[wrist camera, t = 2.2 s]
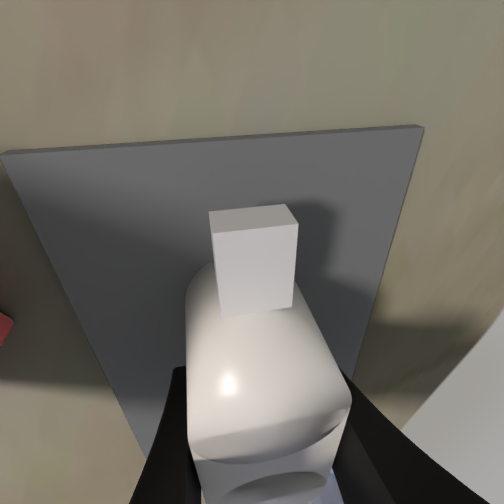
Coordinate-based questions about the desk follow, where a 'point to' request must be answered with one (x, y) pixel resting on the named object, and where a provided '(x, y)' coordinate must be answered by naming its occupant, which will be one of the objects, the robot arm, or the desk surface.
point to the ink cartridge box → (5, 327)
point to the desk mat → (208, 236)
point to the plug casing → (259, 368)
